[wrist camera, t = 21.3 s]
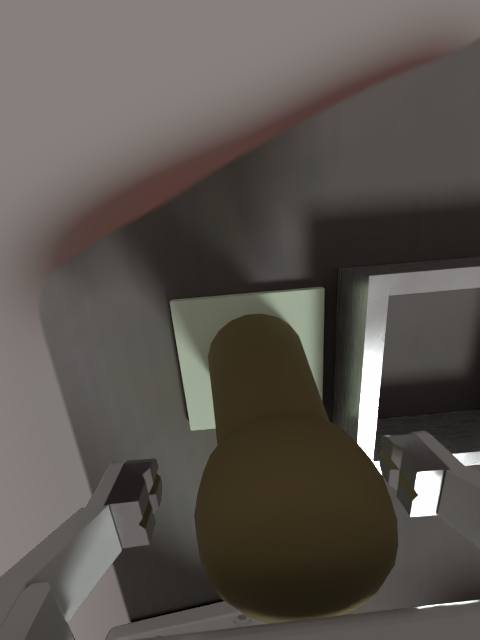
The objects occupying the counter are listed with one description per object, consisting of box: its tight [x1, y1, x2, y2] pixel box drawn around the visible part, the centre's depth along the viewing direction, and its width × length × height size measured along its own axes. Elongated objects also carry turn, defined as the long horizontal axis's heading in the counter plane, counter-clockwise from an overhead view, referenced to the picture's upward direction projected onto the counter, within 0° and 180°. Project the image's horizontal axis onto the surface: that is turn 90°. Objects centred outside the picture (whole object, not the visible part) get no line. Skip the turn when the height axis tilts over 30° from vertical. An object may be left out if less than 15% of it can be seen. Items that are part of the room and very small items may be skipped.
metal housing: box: [333, 256, 480, 474], centre depth 15 cm, size 12×12×4 cm
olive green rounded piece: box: [194, 314, 398, 624], centre depth 11 cm, size 6×6×11 cm
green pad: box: [170, 287, 325, 431], centre depth 16 cm, size 9×9×1 cm
